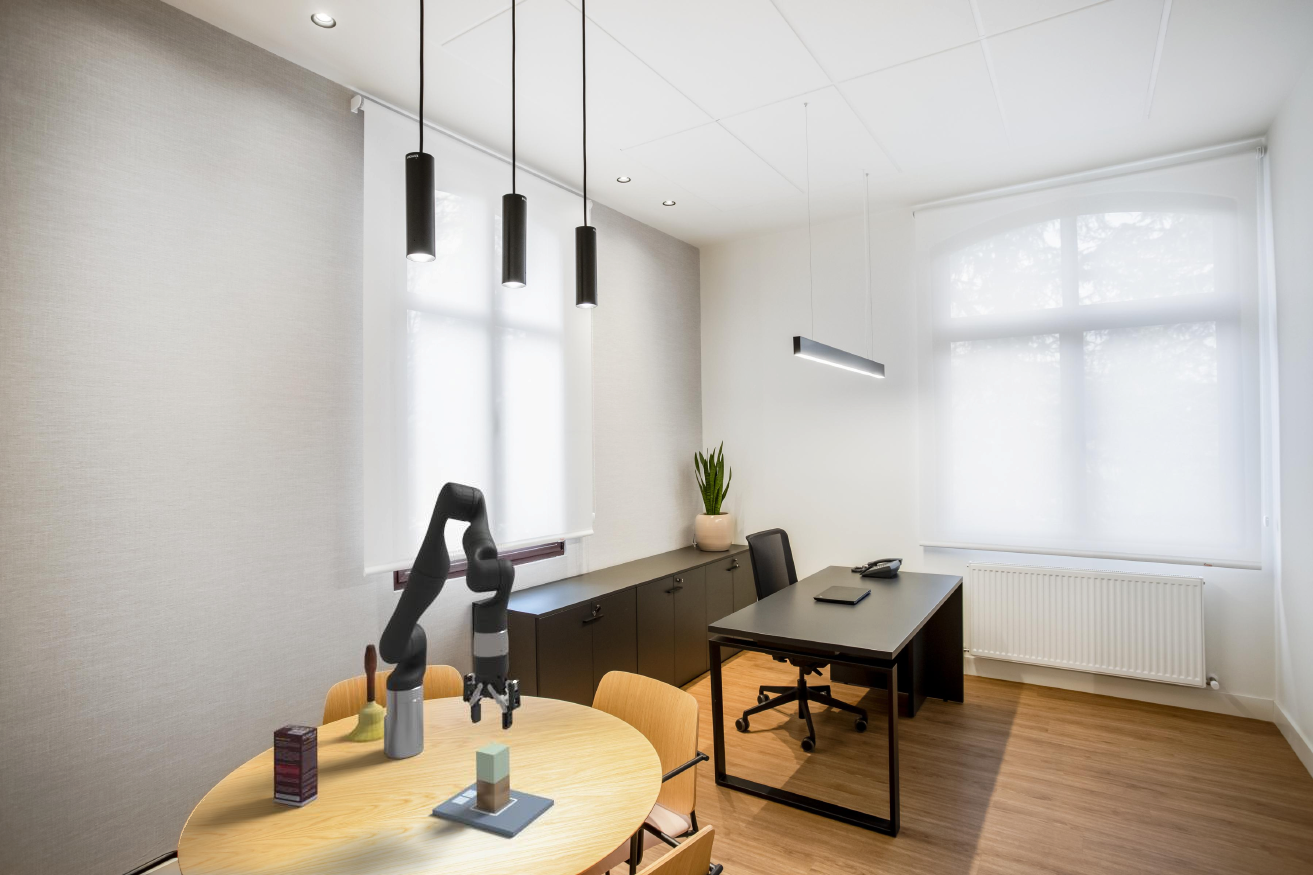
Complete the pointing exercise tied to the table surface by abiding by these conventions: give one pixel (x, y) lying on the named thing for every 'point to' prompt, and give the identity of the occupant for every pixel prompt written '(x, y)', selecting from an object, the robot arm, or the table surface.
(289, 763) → the supplement box
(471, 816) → the board
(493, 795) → the walnut block
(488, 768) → the sage block
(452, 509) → the robot arm
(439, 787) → the table surface
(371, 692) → the handbell
